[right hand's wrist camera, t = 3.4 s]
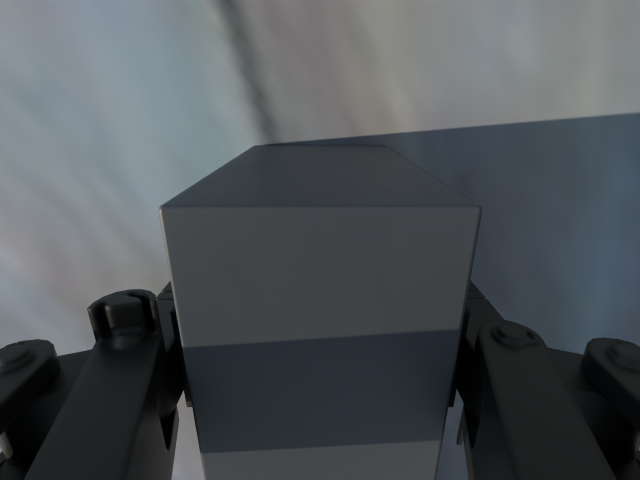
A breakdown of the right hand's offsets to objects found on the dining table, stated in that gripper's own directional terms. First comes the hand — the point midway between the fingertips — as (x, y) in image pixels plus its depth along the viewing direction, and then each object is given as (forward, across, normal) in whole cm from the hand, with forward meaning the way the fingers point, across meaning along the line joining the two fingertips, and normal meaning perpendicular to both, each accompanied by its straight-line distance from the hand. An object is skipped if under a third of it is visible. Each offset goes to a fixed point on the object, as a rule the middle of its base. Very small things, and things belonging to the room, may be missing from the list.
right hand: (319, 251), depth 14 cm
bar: (+1, 0, -26) cm, 26 cm away
